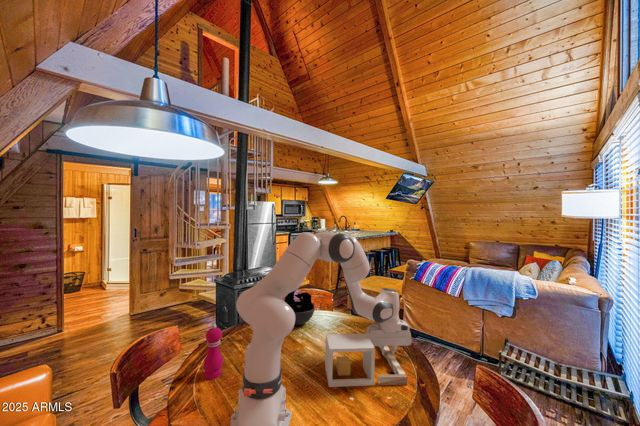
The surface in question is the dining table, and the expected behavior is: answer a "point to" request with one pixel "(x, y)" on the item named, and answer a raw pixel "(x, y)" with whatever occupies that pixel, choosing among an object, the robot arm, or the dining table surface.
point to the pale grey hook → (399, 375)
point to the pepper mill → (213, 354)
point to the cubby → (350, 345)
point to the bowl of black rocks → (300, 307)
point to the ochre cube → (343, 365)
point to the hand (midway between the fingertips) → (388, 354)
